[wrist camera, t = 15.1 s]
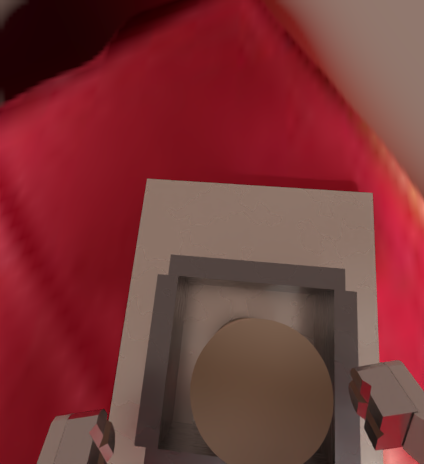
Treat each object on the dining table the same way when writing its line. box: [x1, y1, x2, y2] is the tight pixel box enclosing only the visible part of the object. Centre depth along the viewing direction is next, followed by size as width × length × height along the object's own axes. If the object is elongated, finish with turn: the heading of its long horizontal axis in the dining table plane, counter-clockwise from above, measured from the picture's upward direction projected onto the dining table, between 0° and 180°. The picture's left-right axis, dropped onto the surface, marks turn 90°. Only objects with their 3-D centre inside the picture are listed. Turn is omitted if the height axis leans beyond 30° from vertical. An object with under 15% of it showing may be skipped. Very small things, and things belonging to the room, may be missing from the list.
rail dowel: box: [190, 318, 334, 464], centre depth 13 cm, size 4×4×8 cm
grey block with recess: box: [107, 179, 383, 464], centre depth 16 cm, size 20×14×5 cm
